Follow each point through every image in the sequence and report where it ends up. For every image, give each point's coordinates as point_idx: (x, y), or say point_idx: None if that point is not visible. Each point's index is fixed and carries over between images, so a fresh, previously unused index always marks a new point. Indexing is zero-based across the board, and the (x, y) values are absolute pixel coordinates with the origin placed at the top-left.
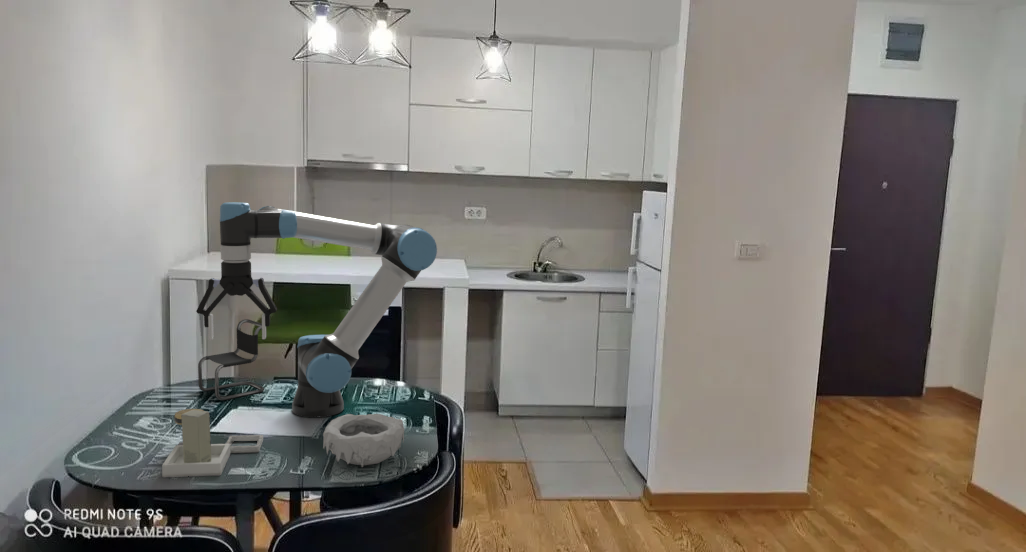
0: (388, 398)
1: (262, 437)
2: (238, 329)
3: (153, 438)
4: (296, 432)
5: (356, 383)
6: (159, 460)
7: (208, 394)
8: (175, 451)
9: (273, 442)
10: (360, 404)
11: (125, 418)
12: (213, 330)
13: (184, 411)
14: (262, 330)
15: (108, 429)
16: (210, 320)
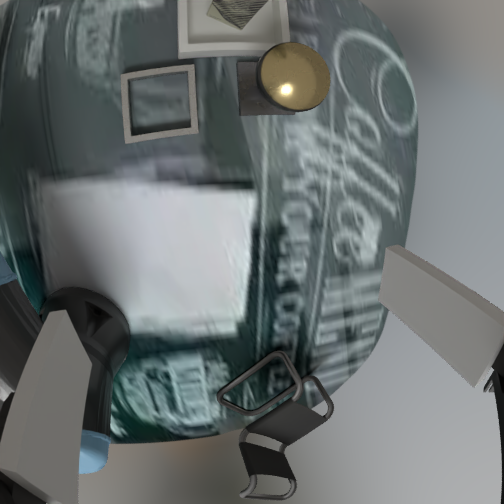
0: None
1: (124, 132)
2: (292, 479)
3: (344, 155)
4: (73, 200)
5: None
6: None
7: (298, 368)
8: (281, 21)
9: (103, 134)
10: None
11: None
12: (404, 322)
13: (314, 89)
14: (45, 354)
15: (405, 203)
16: (484, 308)
